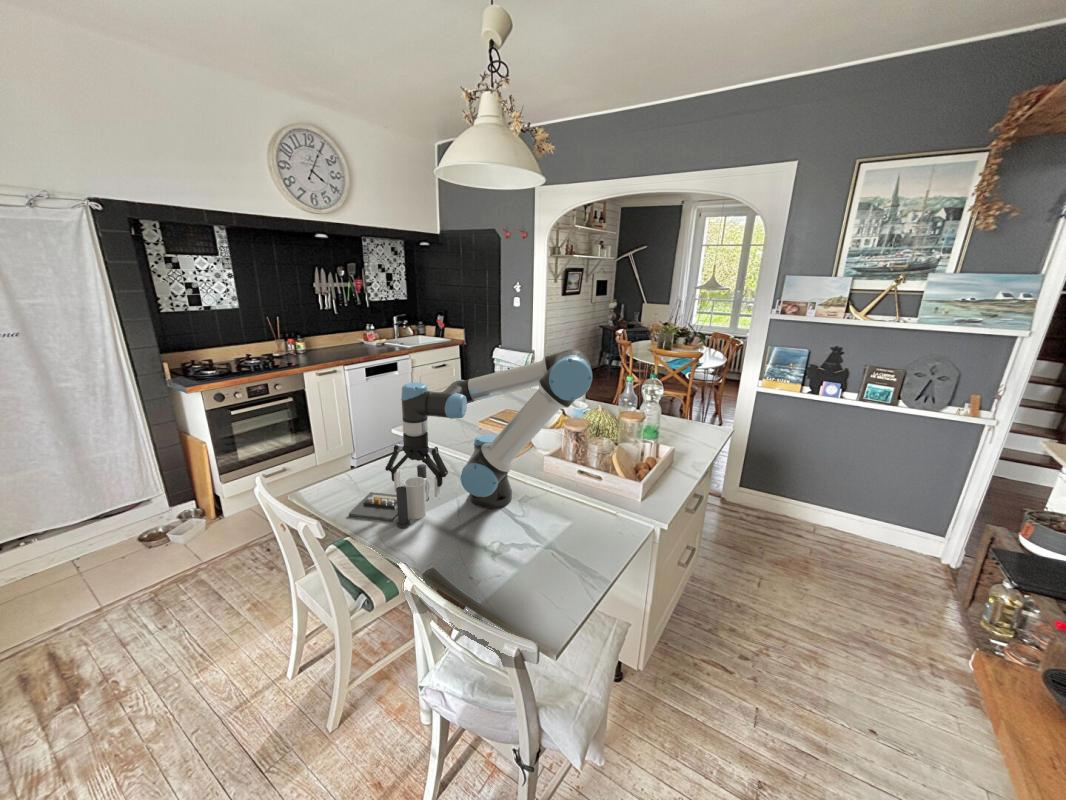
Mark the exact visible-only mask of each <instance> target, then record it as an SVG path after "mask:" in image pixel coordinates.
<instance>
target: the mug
mask: <svg viewBox="0 0 1066 800" xmlns="http://www.w3.org/2000/svg"><path fill="white" fill-rule="evenodd" d="M425 484H426V491H425ZM403 486H404V487H406V491H407V508H408V520H409V519H410V520H419V519H422V518H424V517H425V516H426V512H427V506H426V505H427V502H428V501H429V500H428V496H429V495H430V483H429V481H428V478H422V477H418V476H413V477H412V476H411V477H409V478H406V479H405V480H404V481H403ZM427 500H428V501H427Z"/></svg>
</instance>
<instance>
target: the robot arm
mask: <svg viewBox="0 0 1066 800" xmlns="http://www.w3.org/2000/svg"><path fill="white" fill-rule="evenodd" d="M592 382H593V371H592V364H591V361H590V359H589V356H588V355H586V354H585V353H584V352H583V351H581V350H578V349H571V348H569V349H565V350H562V351H559V352H556V353H552V354H550V355H546V356H544V357H543V358H542V360H539V361H535V362H531V363H528V364H524V365H520V366H516V367H512V368H508V369H504V370H500V371H496V372H493V373H489V374H485V375H481V376H476V377H473V378H469V379H466V380H464V379H458V380H456V381H453V382H452V383H451V384H450V385H449V386H447V388H445V390H443V391H442V392H441V391H438V392H437V391H430V390H428V387H427V386H428V385H427V384H425V383H421V382H407V383H406V384H404V385H402V387H401V398H400V400H401V410H402V411H401V412H402V413H401V414H402V432H403V434H402V438H403V439H402V440H403V442H402V443H403V444H401V443H400V442H397V443H396V444H395V445H394V446H393V452H392V454H391V456H390V457H389V460H388V461H387V462H388V463H387V464H386V466H385V471H388V472H390V473H391V474H390V475H391V482H394V483H393V484H394V485H393V486H394V493H396V488H398V487H400V486H401V470H400V469H399V468H400V467H401V466H402V465H403V464H404V463H405V462H406V461H407V460H408V459H410V461H414V460H415V461H417V462H418V461H419V462H420V461H421V462H422V464H424V465H426V467H428V469H429V470H430V471H431V473H433V475H434V476H435V477H434V478H433V479H434V498H435V497H436V498H437V497H438V496H439V495H440V493H441V486H442V485H443V478H446V477H447V476H448V474H449V471H448V469H447V467H446V465H445V463H444V461H443V459H442V457H441V455H440V453H439V448H438V446H435V447H429V432H428V429H429V428H428V427H429V426H428V423H429V422H428V417H435V418H447V419H452V420H453V419H463V418H464V417H465V415H466V412H467V408H468V404H469V403H474V402H477V401H481V400H486V399H490V398H493V397H498V396H502V395H505V394H509V393H510V394H511V393H514V392H518V391H522V390H527V389H531V388H535V387H538V389H537V390H536V392H535V393H534V394H533V395H532V396H531V397H530V398H529V400H527V402H526V403H525V404H524V405H523V406H522V408H520V410H519V411H518V412H517V413H516V414H515V415H514V417H513V418H512V419H511V420H510V421H509V422H508V423H507V424H506V425H505V427H504V428H503V429H502V430H501V431H500V432H499V433H498V434H485V435H478V436H477V437H475V438H474V442H473V452H472V454H471V456H470V457H469V459H468V461H467V462H466V464H465V465H464V466H463V468H462V470H461V474H460V481H461V482H460V483H461V485H462V488H463V489H464V490H465V491H466V492H467V493H468V494H469V500H470V502H471V503H472V504H473V505H474V506H477V507H479V508H483V509H496V508H501V507H503V506H506V505H508V504H509V503H510V502H511V501H512V499H513V490H512V487H511V484H510V481H509V477H508V473H509V472H511V470H512V464H513V463H512V462H513V460H515V458H516V457H518V455H519V454H520V453H521V452H522V451H523V450H524V449H525V448H526V447H527V445H529V443H530V442H532V440H533V439H534V438H535V437H536V436H537V434H539V432H540V431H542V429H543V428H544V427H545V426H547V424H548V423H549V421H550V420H551V419H552V418H553V417H554V416H555V415H556V414H557V413H558V412H559V411H560V410H561V409H568V408H570V406H572V404H573V403H575V401H576V400H578V399H580V398H583V396H585V395H586V394H587V392H589V389H590V388H591V386H592V384H593V383H592ZM401 451H403V452H404V454H405V455H404V456H403V457H402V458H401V459H399V461H398V462H397V463H395V462H396V460H397V458H398V455H399V453H400V452H401ZM429 453H430V454H429ZM431 457H432V458H431ZM394 464H395V465H394Z"/></svg>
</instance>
